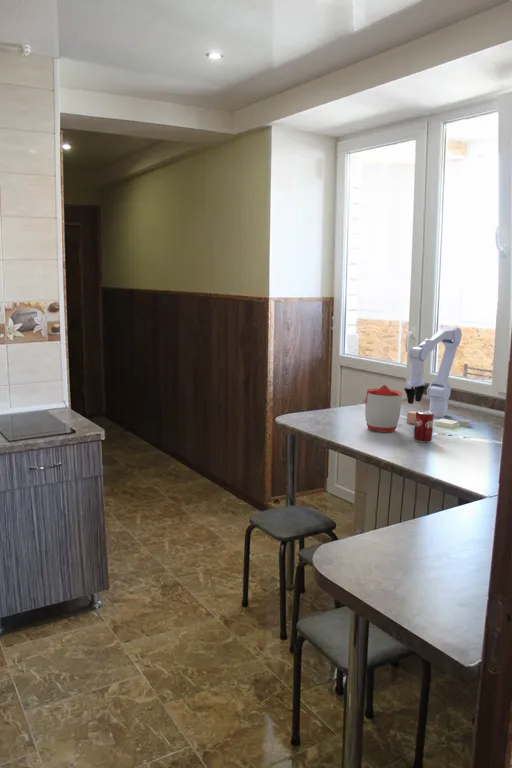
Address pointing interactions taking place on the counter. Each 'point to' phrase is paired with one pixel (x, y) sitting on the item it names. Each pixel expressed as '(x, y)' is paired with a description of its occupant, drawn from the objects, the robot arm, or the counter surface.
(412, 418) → the salmon pink block
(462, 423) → the grey brick
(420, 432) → the soda can
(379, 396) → the citrus juicer
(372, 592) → the counter surface
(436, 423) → the cream square slab
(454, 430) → the baseplate
